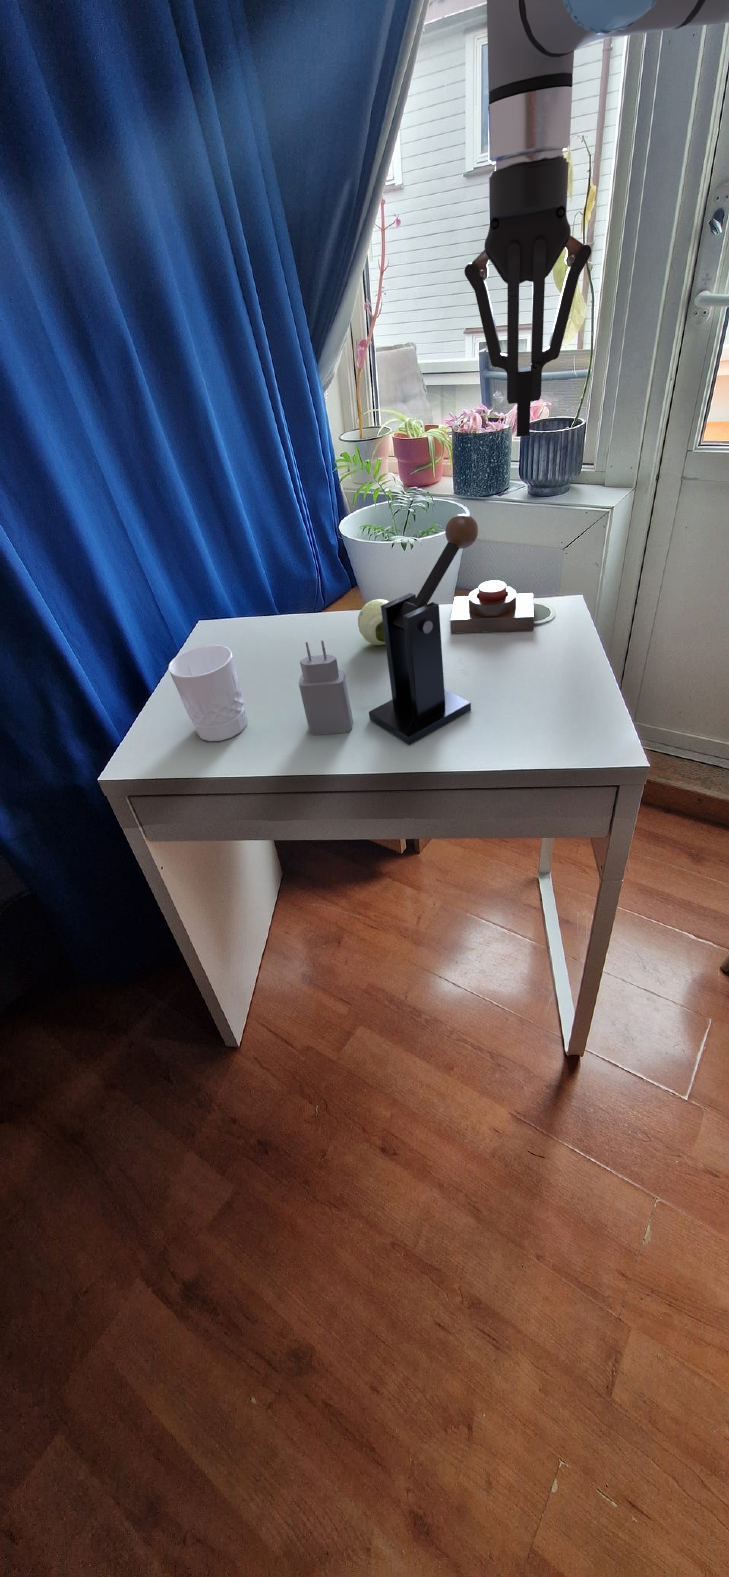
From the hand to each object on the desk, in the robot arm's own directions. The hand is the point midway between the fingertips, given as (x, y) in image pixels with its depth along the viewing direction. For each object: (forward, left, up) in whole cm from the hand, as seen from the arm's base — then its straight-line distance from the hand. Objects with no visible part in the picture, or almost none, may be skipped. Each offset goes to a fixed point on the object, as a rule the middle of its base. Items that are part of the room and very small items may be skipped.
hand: (523, 433), depth 78 cm
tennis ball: (+20, +1, -27) cm, 33 cm away
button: (+4, -5, -23) cm, 24 cm away
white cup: (+38, +23, -27) cm, 52 cm away
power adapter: (+23, +23, -27) cm, 42 cm away
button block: (+4, -5, -26) cm, 27 cm away
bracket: (+12, +20, -26) cm, 36 cm away
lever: (+8, +17, -11) cm, 21 cm away
